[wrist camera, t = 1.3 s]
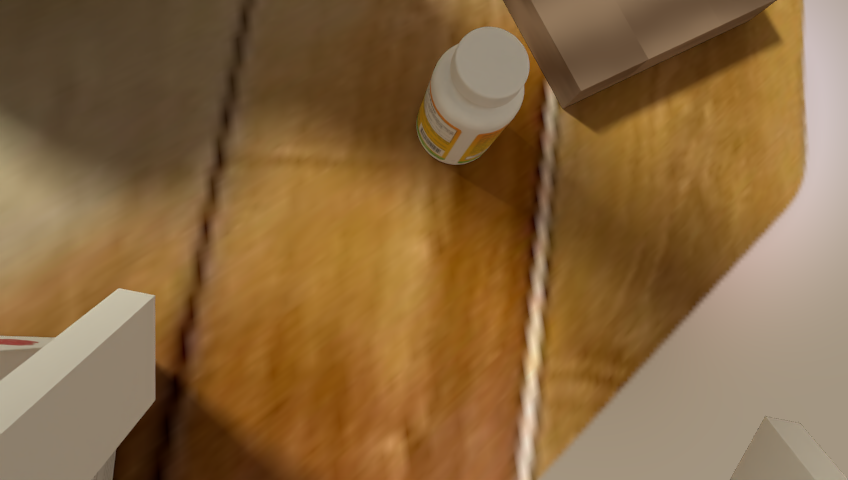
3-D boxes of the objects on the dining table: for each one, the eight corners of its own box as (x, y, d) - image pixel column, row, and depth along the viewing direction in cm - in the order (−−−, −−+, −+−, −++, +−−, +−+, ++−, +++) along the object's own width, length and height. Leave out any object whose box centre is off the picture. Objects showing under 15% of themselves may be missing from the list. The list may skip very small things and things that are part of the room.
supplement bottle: (496, 101, 38) (549, 26, 28) (485, 173, 37) (536, 121, 27) (421, 84, 37) (450, 1, 27) (408, 157, 36) (433, 98, 26)
